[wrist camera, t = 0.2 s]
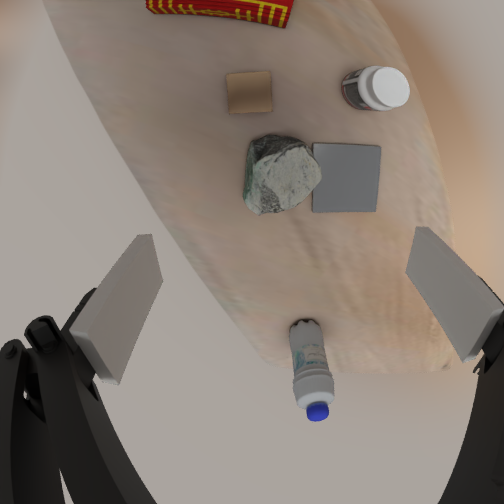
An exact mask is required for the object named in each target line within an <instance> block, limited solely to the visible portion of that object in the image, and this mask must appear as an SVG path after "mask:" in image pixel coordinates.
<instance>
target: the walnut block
mask: <svg viewBox="0 0 504 504" xmlns="http://www.w3.org/2000/svg"><path fill="white" fill-rule="evenodd" d="M226 78H227V92H228V107H229V114H235V113H251V112H273V110H272V91H271V74H270V71H266V72H245V73H232V74H226Z"/></svg>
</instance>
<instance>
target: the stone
mask: <svg viewBox="0 0 504 504" xmlns="http://www.w3.org/2000/svg"><path fill="white" fill-rule="evenodd" d="M321 171H322V170H321V167H320V165H319V164H318V163H317V161H316V160H315V159H314V157H313V153H312V151H311V150H310V149H309V147H308V146H307V144H305V143H304V142H302V141H300V140H299V139H296V138H292V137H288V136H287V137H281V136H276V135H268V136H265V137H263V138H261V139H259V140H256V141H252V142H251V145H250V148H249V151H248V155H247V164H246V174H245V188H244V192H243V199H244V202H245V203H246V205H247V206H248V208H249V209H250V210H252V211H253V212H254V213H256V214H257V215H261V214H264V213H279V212H280V211H284V210H288V209H291V208H293V207H296V206H297V205H298V204H299V203H301V202H302V201H303V200H304V199H305V198H306V197H307V196H308V195H309V193H310V192H311V191H312V190H313V189H314V188H315V187H316V185H317V184H318V183H319V182H320V181H321V179H322V172H321Z"/></svg>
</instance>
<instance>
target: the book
mask: <svg viewBox="0 0 504 504" xmlns="http://www.w3.org/2000/svg"><path fill="white" fill-rule="evenodd" d="M293 1H294V0H146V8H147V9H148V10H150V11H151V12H152V13H154V14H195V15H209V16H219V17H227V18H235V19H242V20H248V21H254V22H259V23H264V24H269V25H273V26H278V27H282V28H285V27H286V24H287V22H288V18H289V15H290V12H291V8H292V5H293Z"/></svg>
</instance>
